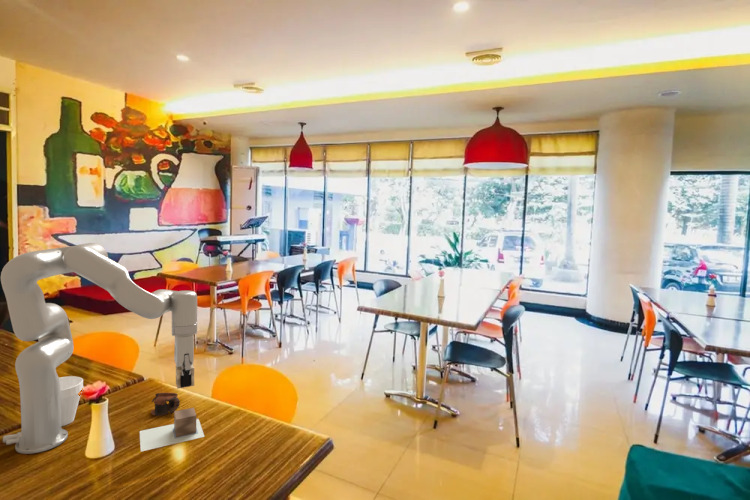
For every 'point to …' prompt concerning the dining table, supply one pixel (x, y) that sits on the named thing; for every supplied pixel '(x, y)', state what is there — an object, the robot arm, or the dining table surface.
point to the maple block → (178, 373)
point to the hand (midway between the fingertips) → (184, 382)
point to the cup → (69, 397)
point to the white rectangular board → (165, 436)
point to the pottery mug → (161, 404)
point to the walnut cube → (185, 422)
